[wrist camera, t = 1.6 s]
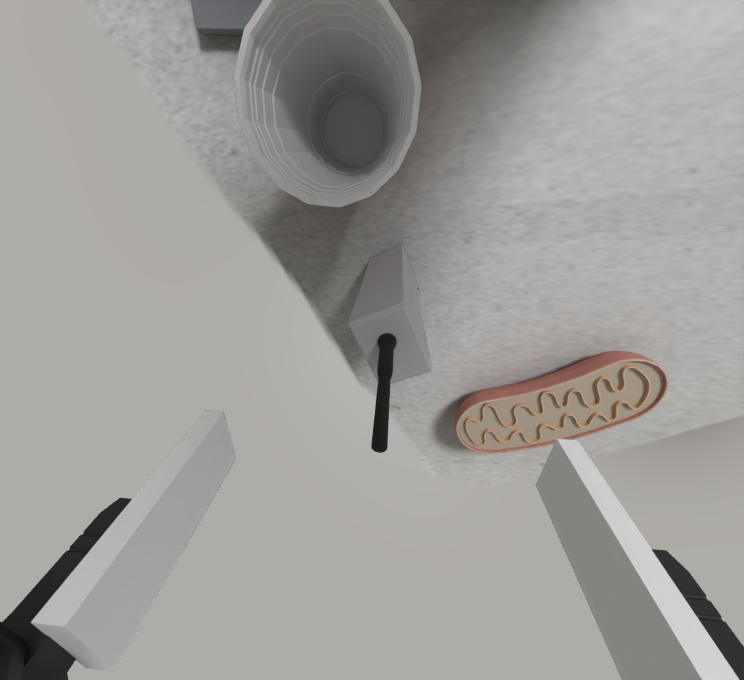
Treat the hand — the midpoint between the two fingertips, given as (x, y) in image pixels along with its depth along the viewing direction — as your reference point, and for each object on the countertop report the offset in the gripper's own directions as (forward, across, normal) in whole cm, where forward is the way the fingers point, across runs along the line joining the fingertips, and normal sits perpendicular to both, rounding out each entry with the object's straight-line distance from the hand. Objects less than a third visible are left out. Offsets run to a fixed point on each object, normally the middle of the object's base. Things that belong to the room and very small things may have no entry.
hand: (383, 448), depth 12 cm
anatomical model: (+25, +20, -14) cm, 35 cm away
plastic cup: (+24, -4, +13) cm, 28 cm away
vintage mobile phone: (+24, 0, 0) cm, 24 cm away
